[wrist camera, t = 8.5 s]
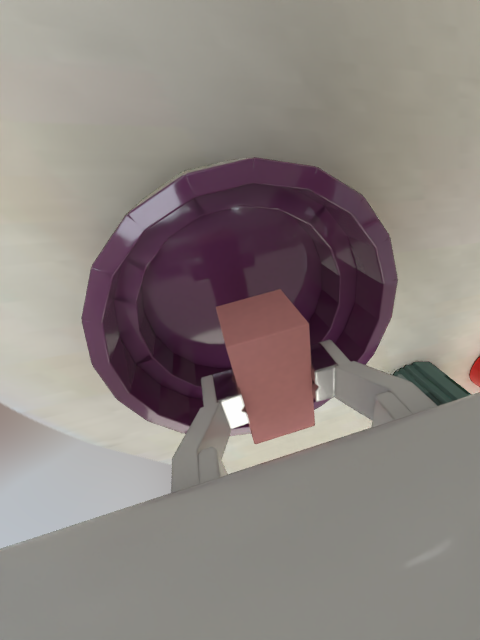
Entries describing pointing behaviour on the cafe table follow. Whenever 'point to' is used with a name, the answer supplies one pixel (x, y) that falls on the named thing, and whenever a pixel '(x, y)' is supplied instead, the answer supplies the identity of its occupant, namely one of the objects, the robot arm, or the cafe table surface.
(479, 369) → the mug
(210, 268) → the bowl
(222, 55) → the cafe table surface
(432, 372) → the can
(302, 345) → the eraser
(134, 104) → the cafe table surface
